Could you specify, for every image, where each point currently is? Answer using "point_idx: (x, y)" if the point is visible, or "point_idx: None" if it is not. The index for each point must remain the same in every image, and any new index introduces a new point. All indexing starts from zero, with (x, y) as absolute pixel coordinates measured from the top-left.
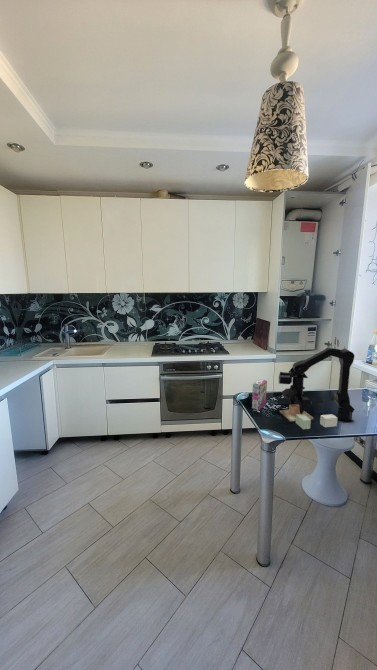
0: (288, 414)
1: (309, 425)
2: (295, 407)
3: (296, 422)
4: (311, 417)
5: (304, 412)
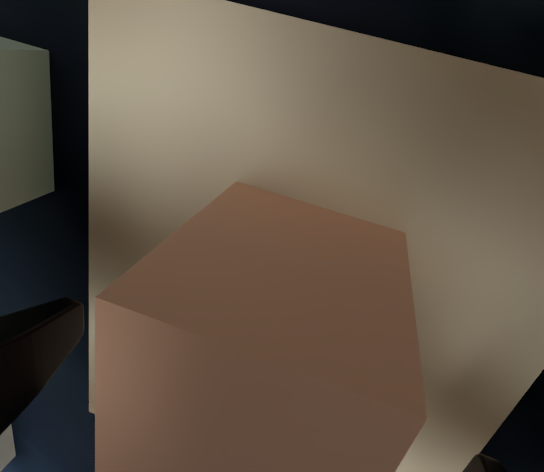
0: (340, 155)
1: None
2: (101, 389)
3: (7, 43)
4: None
5: None
